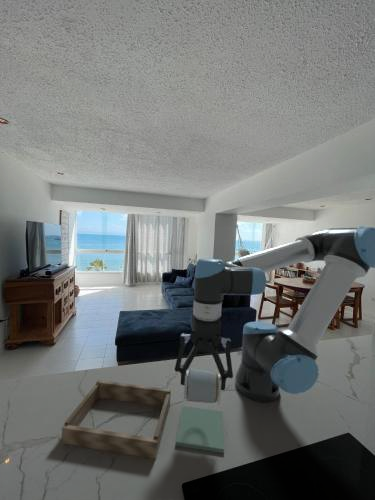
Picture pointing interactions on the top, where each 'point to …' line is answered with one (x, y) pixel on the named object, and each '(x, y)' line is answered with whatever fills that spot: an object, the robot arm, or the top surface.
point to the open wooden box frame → (113, 439)
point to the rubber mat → (201, 429)
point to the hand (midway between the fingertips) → (201, 397)
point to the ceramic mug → (202, 386)
